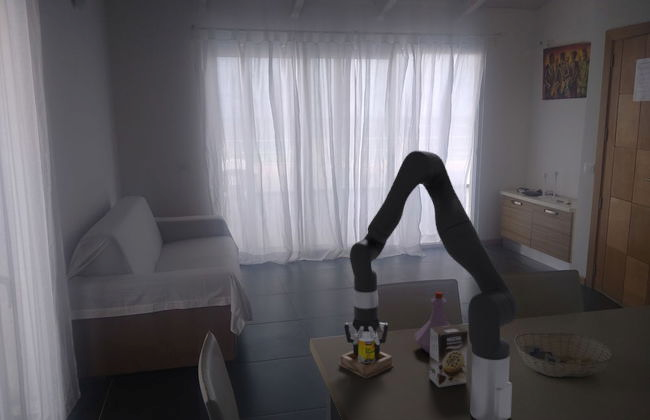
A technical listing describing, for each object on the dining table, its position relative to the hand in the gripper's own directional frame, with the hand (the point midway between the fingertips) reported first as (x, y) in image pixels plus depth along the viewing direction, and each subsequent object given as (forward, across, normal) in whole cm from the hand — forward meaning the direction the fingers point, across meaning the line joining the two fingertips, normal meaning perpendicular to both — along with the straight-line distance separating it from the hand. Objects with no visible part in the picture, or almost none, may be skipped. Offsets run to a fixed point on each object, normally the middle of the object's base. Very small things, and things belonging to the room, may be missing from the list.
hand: (366, 354), depth 160 cm
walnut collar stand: (+4, 0, 0) cm, 4 cm away
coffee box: (+4, -24, +8) cm, 26 cm away
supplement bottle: (+2, 0, 0) cm, 2 cm away
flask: (+4, -24, -13) cm, 27 cm away
